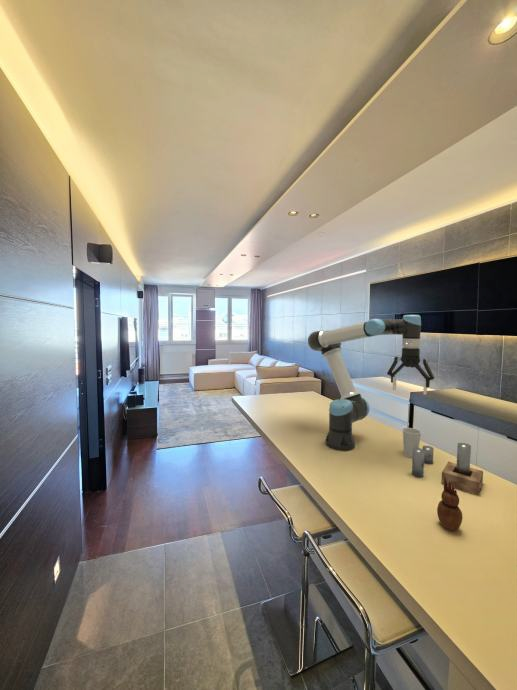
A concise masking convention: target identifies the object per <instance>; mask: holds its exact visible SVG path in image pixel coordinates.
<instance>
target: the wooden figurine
mask: <svg viewBox="0 0 517 690" xmlns="http://www.w3.org/2000/svg"><path fill="white" fill-rule="evenodd" d="M440 495H441V499H440V501H439V502H438V504H437V508H436V512H437V518H438V520H439V522H440V524H441V525H442V527H444V528H445V529H447V530H449V531H456V530H459V529H460V527H461V525H462V522H463V513H462V510H461V508H460V507H459V504H460V497H459V495H458V492H457V489H455V488H454V486H452V487H451V482H449V485H447V481H446V478H444V484H443V491H442V492H441V494H440Z"/></svg>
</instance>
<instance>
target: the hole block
mask: <svg viewBox="0 0 517 690" xmlns="http://www.w3.org/2000/svg"><path fill="white" fill-rule="evenodd" d="M456 466H457V463H456V462H451V461H448V462H447V463H446V464H445V466H444V468H443V470H442V471H441V485H444V478H446V481H447V485H449V482H451V488H452V486H454V489H455V490H459V489H460V490H459V491H463V492H465V493H469V494H473V495H475V496H479V495H480V492H481V489H482V485H483V482H484V481H483V480H484V470H480V469H478V468H473V467H470V475H469V476H466V475H462V474H459V473H456Z"/></svg>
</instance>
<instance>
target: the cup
mask: <svg viewBox="0 0 517 690" xmlns="http://www.w3.org/2000/svg"><path fill="white" fill-rule="evenodd" d="M421 435H422V431H421V430H419V429H417V428H412V427H404V428H403V429H402V438H403V439H402V441H403V454H404V456H406V457H409V458H412V454H413V448H420V442H421Z"/></svg>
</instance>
